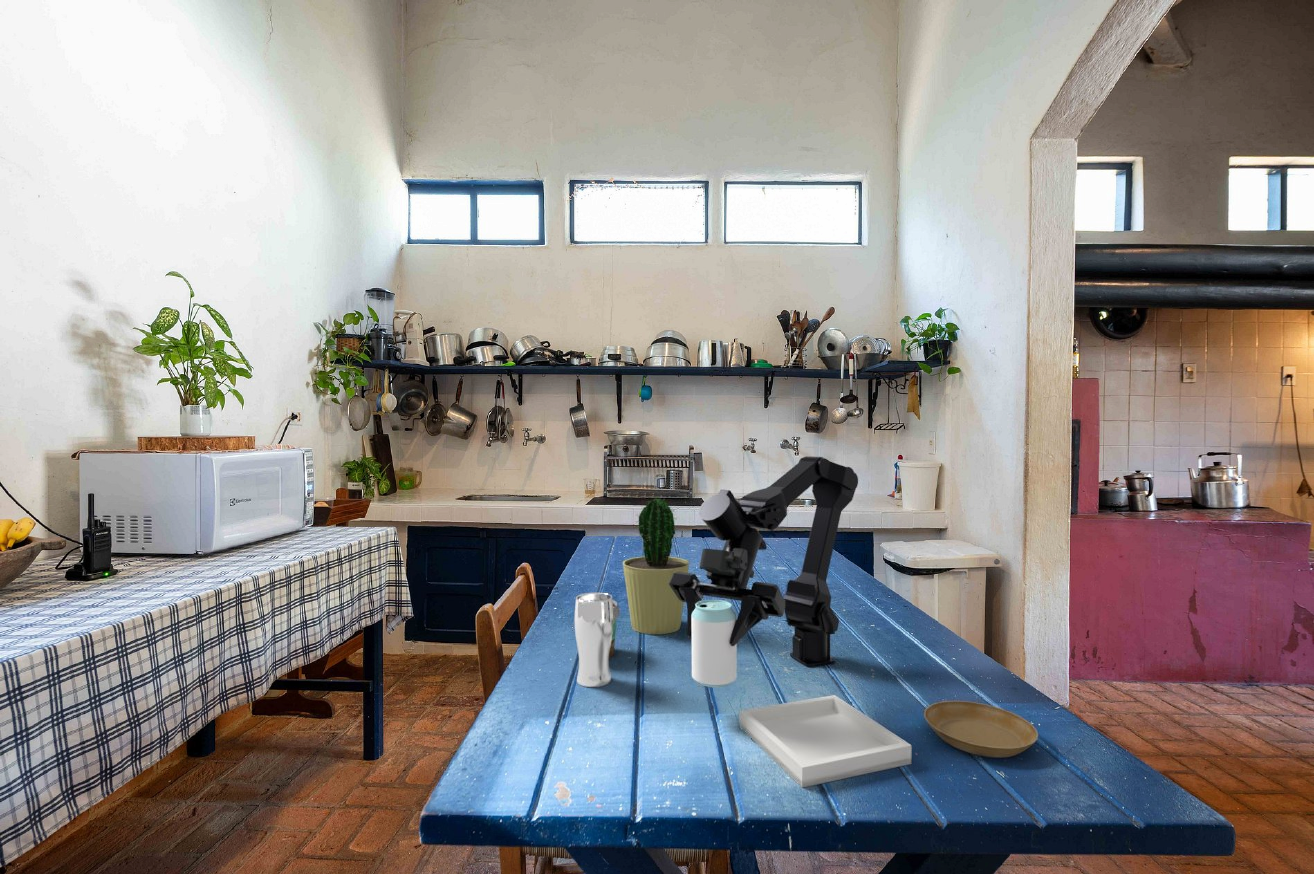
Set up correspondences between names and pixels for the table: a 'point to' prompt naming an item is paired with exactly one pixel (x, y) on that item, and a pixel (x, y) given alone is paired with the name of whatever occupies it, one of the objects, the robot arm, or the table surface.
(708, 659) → the can
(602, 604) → the beer glass
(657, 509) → the potted cactus
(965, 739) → the plant saucer
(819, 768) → the tray
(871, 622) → the table surface
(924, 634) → the table surface
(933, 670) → the table surface
